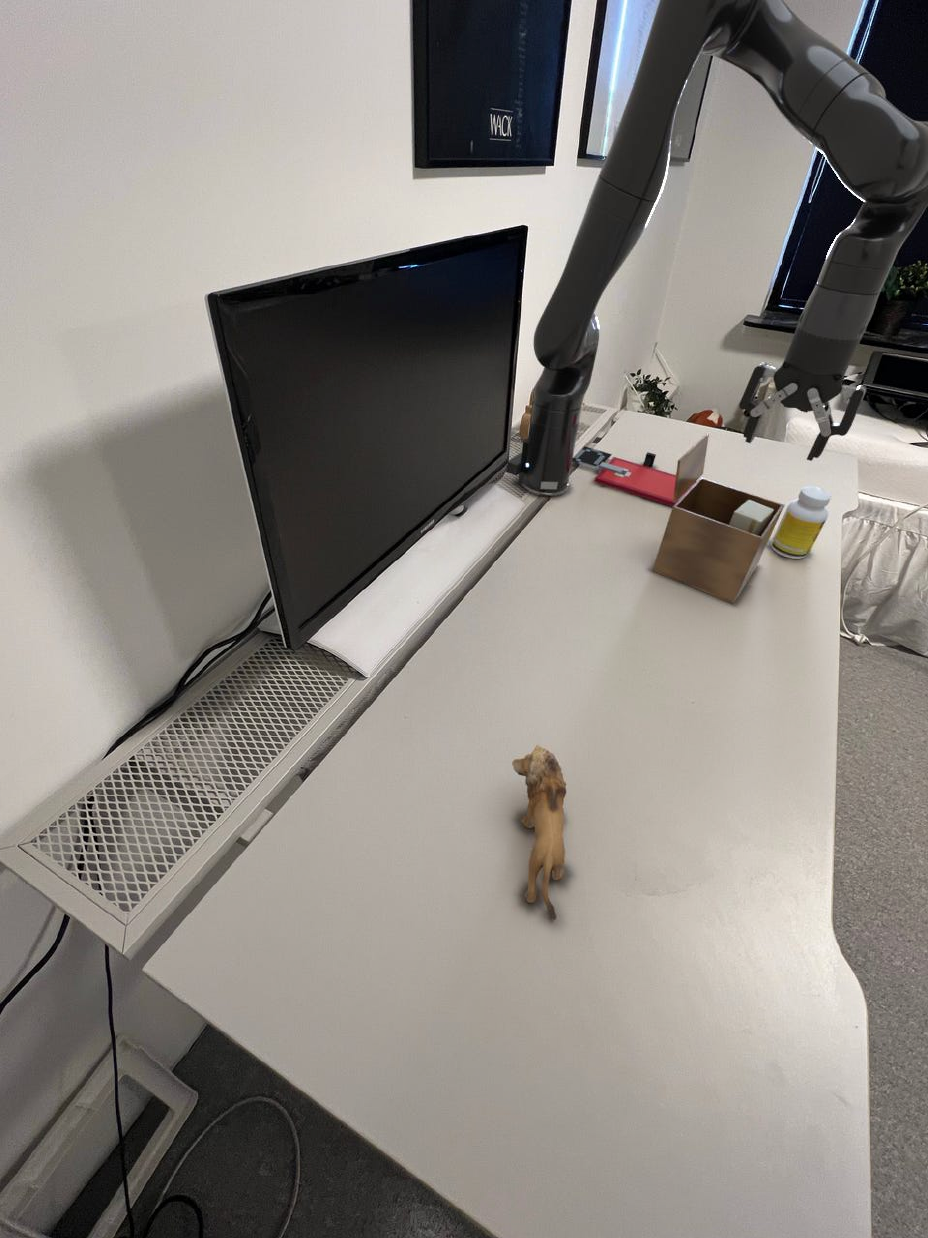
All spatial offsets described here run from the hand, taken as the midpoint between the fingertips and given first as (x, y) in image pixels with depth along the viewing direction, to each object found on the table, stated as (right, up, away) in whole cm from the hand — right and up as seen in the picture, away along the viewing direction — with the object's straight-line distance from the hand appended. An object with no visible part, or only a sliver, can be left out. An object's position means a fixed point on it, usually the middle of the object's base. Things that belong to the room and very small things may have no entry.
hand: (778, 449), depth 85 cm
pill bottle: (+14, -12, +22) cm, 29 cm away
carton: (-4, -16, +17) cm, 23 cm away
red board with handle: (-8, +5, +40) cm, 41 cm away
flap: (-9, 0, +9) cm, 13 cm away
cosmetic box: (-1, -17, +15) cm, 23 cm away
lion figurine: (-38, -48, -23) cm, 65 cm away
